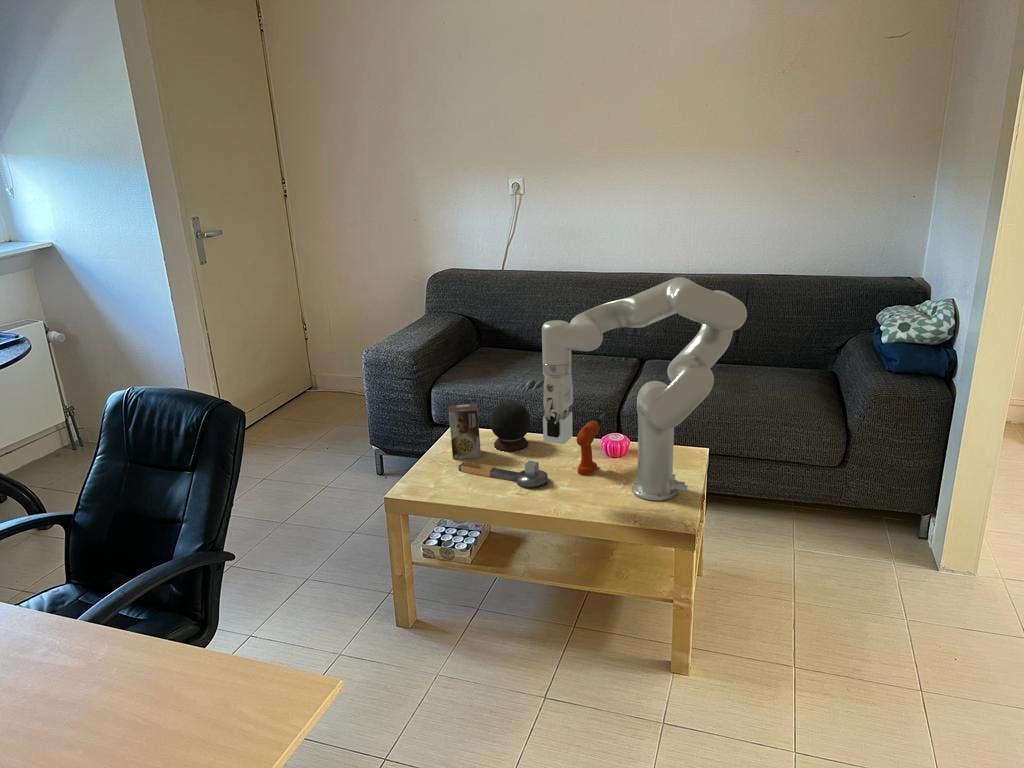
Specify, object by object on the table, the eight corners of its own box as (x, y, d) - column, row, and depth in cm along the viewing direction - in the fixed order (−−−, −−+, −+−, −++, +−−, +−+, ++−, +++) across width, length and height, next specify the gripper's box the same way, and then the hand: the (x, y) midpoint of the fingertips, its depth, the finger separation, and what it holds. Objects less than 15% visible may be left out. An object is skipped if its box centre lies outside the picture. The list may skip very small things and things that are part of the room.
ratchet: (552, 478, 213) (552, 459, 211) (539, 491, 206) (539, 471, 204) (468, 463, 226) (467, 445, 224) (453, 474, 218) (452, 456, 216)
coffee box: (480, 449, 236) (477, 402, 230) (480, 457, 229) (478, 409, 224) (452, 451, 235) (448, 404, 230) (451, 459, 229) (448, 411, 224)
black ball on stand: (524, 455, 230) (522, 410, 225) (485, 451, 234) (482, 407, 229) (536, 439, 242) (535, 397, 237) (499, 435, 246) (497, 394, 241)
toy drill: (613, 448, 228) (611, 406, 222) (589, 479, 214) (586, 434, 208) (599, 446, 231) (597, 403, 224) (574, 476, 216) (571, 432, 210)
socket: (572, 436, 198) (572, 412, 196) (564, 444, 193) (563, 419, 190) (552, 433, 200) (551, 409, 198) (543, 441, 195) (542, 416, 193)
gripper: (557, 379, 181) (558, 445, 187) (582, 360, 196) (582, 422, 202) (530, 376, 184) (532, 441, 190) (556, 358, 199) (557, 419, 205)
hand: (558, 431), depth 196 cm, fingers closed on socket, 6 cm apart
